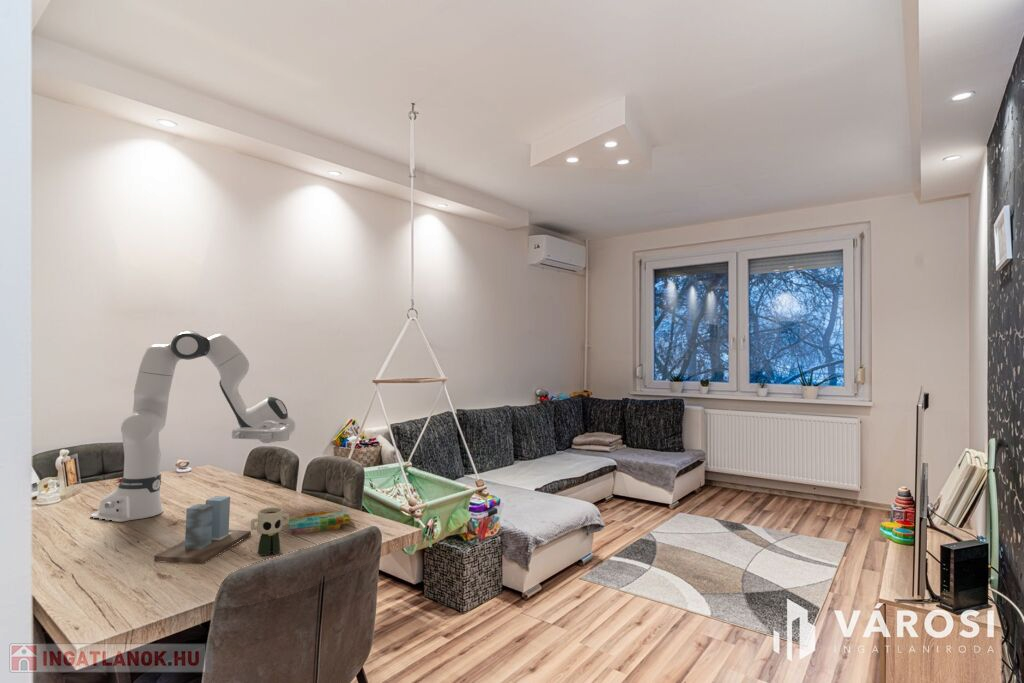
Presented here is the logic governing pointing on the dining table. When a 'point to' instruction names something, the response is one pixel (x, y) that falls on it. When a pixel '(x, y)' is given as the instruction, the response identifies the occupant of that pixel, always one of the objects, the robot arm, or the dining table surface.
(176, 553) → the base board
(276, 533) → the character mug
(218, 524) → the pillar block
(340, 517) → the puzzle game
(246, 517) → the dining table surface
